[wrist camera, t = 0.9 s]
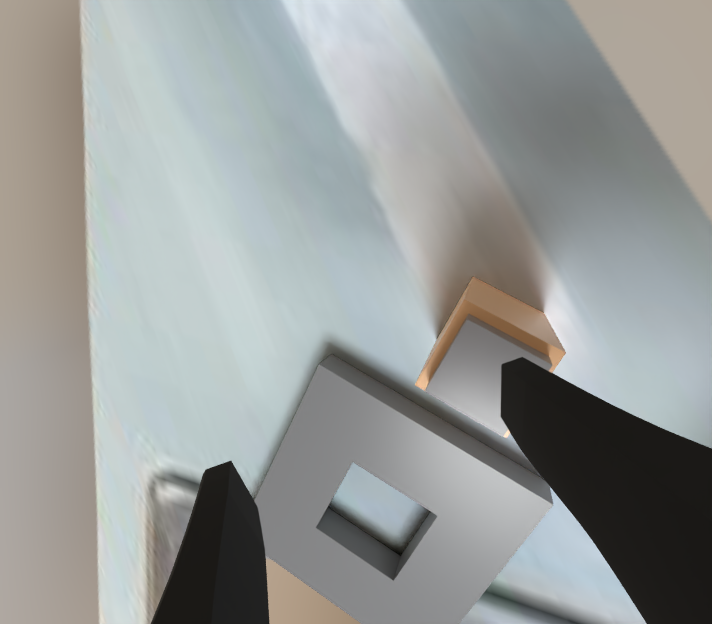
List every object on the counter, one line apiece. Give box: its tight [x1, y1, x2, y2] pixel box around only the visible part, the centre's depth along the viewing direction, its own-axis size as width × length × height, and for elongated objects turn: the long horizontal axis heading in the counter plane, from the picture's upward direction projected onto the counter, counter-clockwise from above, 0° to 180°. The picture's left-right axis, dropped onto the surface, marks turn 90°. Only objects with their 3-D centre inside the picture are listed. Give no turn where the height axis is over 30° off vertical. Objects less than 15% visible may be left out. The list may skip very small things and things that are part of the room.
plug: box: [415, 277, 566, 438], centre depth 19 cm, size 4×4×8 cm
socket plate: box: [254, 354, 553, 624], centre depth 26 cm, size 14×14×2 cm
